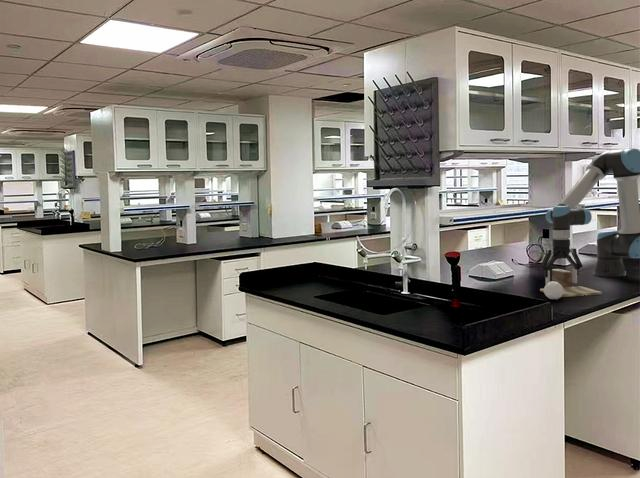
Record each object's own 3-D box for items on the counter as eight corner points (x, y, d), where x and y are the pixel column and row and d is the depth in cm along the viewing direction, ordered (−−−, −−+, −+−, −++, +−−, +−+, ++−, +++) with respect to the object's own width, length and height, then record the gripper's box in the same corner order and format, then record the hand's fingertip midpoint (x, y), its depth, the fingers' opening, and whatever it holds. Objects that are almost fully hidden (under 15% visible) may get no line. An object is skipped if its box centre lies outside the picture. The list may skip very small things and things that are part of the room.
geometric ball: (549, 305, 241) (537, 291, 242) (555, 296, 247) (543, 282, 247) (563, 299, 236) (551, 284, 236) (570, 289, 241) (557, 275, 241)
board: (580, 288, 263) (580, 286, 263) (601, 294, 248) (601, 292, 247) (540, 290, 261) (539, 288, 261) (558, 297, 245) (558, 294, 245)
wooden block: (559, 285, 274) (559, 268, 273) (571, 288, 264) (571, 271, 263) (551, 285, 273) (551, 269, 273) (563, 289, 263) (563, 272, 263)
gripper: (540, 240, 261) (540, 286, 263) (590, 238, 264) (590, 283, 266) (532, 239, 269) (532, 283, 271) (581, 237, 272) (581, 280, 274)
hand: (561, 283), depth 268 cm, fingers open, 13 cm apart
